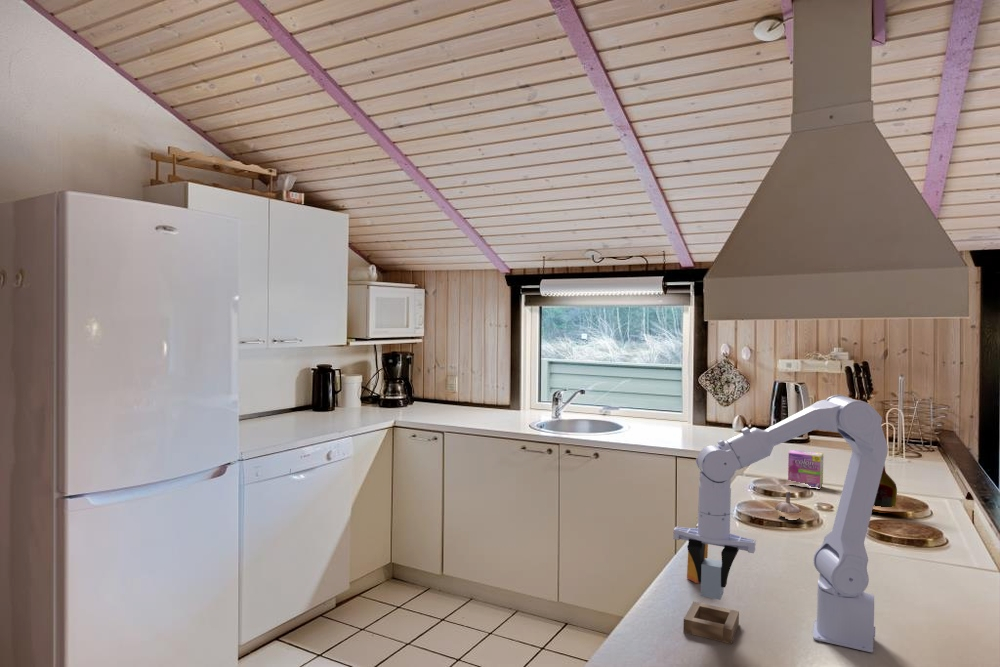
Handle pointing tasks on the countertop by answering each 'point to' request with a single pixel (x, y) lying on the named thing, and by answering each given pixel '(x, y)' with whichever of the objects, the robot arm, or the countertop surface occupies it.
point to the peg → (711, 579)
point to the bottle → (886, 491)
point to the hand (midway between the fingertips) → (712, 583)
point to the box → (806, 467)
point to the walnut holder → (711, 622)
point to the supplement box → (691, 567)
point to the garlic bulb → (787, 506)
